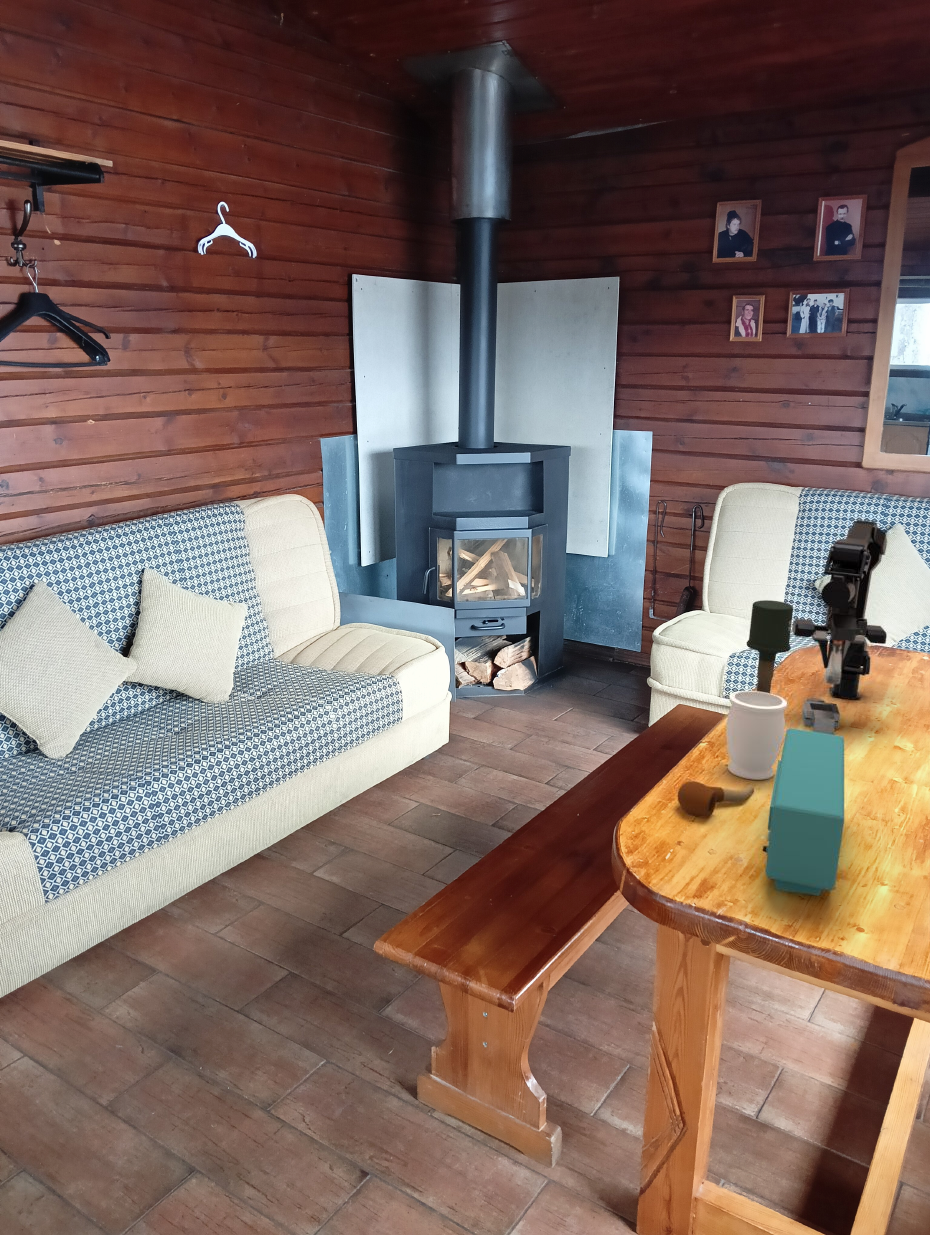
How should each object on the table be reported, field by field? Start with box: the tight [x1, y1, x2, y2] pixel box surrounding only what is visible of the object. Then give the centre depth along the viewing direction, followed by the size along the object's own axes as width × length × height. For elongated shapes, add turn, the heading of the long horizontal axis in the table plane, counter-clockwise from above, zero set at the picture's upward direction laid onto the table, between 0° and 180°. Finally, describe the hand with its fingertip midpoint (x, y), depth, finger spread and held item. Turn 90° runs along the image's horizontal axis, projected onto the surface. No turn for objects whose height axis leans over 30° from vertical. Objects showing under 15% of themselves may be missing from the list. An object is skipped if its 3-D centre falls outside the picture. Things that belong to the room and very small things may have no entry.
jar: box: [725, 690, 788, 781], centre depth 180 cm, size 11×10×15 cm
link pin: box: [823, 636, 845, 685], centre depth 207 cm, size 3×3×10 cm
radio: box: [762, 728, 845, 896], centre depth 150 cm, size 34×10×15 cm, turn 159°
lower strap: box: [801, 697, 840, 731], centre depth 214 cm, size 16×7×2 cm, turn 165°
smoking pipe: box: [677, 780, 755, 819], centre depth 168 cm, size 7×18×6 cm, turn 132°
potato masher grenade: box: [746, 599, 794, 694], centre depth 193 cm, size 8×9×30 cm
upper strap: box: [802, 700, 841, 735], centre depth 208 cm, size 11×7×4 cm, turn 165°
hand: (833, 668), depth 208 cm, fingers closed on link pin, 3 cm apart
